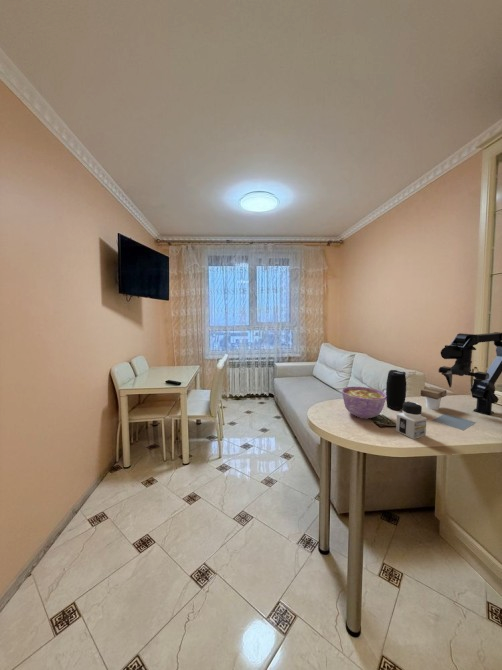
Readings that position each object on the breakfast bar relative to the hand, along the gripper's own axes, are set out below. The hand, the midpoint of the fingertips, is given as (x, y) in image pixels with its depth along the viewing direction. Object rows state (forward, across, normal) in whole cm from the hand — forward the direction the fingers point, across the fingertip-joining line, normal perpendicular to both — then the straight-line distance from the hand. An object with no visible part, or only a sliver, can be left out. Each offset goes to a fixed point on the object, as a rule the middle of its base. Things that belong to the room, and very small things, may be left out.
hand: (461, 389), depth 126 cm
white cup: (+12, -10, -5) cm, 17 cm away
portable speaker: (+12, -21, -21) cm, 32 cm away
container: (+12, -2, -45) cm, 47 cm away
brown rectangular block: (+5, -10, -5) cm, 12 cm away
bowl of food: (+12, -24, -45) cm, 52 cm away
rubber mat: (+12, +3, -16) cm, 20 cm away
